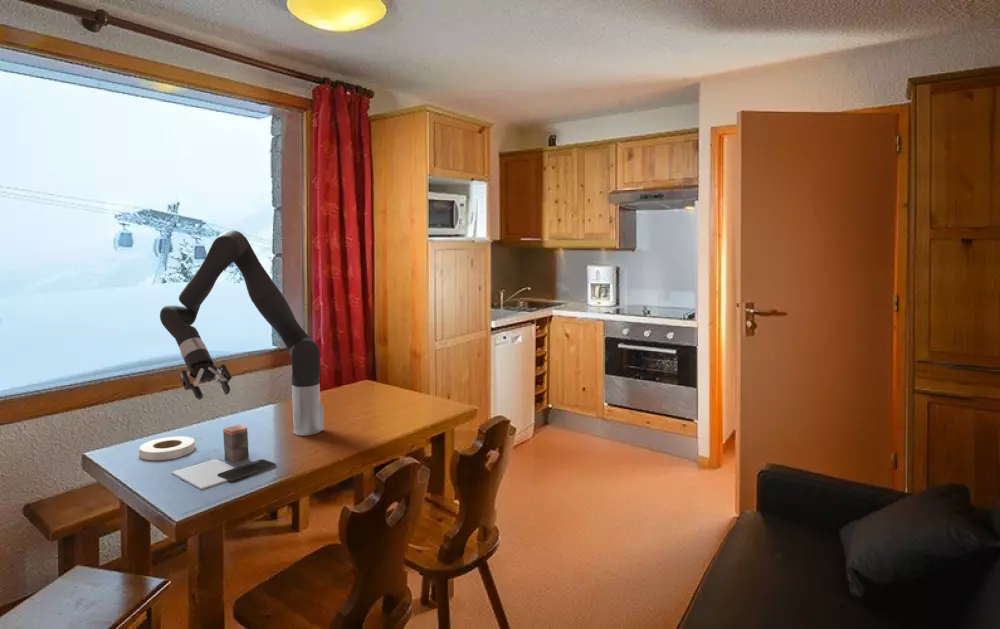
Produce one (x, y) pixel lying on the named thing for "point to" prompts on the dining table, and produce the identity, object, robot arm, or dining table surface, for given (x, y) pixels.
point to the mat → (203, 474)
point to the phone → (247, 470)
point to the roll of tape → (167, 448)
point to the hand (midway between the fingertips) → (214, 395)
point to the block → (236, 444)
